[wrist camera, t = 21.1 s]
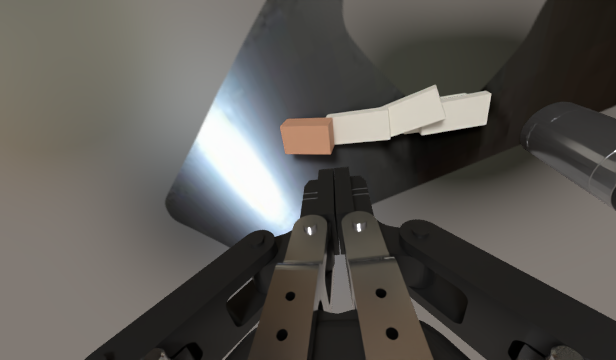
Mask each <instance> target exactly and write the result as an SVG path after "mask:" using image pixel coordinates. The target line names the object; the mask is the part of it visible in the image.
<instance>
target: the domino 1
mask: <svg viewBox="0 0 616 360" xmlns="http://www.w3.org/2000/svg"><path fill="white" fill-rule="evenodd" d="M280 129H281V134H282V139H283V144H284V149H285V154H331V152H332V150H333V148H334V145H335V144H334V132H333V119H332V118H300V119H287V120H286V121H285V122H284V123H283V124H282V125H281V126H280Z"/></svg>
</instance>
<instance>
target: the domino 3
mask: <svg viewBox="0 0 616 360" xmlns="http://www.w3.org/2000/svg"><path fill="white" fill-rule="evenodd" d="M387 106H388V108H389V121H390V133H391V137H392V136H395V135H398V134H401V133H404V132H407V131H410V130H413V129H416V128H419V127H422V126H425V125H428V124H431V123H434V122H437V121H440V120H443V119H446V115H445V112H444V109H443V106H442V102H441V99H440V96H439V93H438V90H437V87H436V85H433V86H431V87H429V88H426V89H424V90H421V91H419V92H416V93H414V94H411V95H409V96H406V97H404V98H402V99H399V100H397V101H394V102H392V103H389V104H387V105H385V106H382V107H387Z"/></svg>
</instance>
